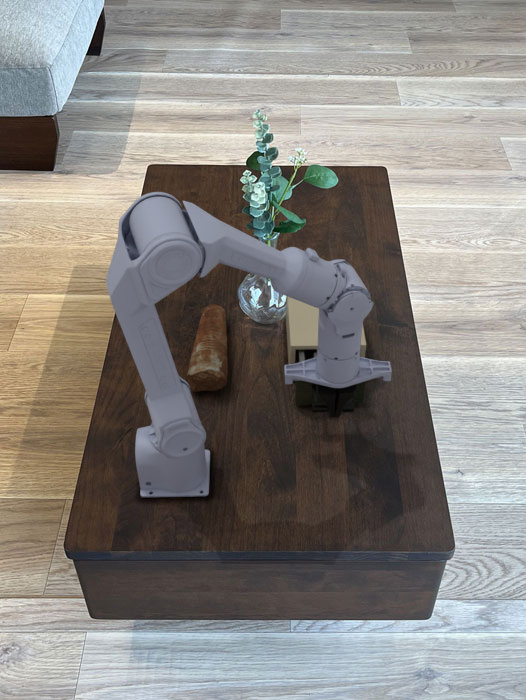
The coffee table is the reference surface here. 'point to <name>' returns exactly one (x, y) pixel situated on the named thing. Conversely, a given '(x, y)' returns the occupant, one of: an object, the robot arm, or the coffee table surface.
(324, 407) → the drawer
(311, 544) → the coffee table surface
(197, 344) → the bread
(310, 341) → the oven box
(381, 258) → the coffee table surface
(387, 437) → the coffee table surface
